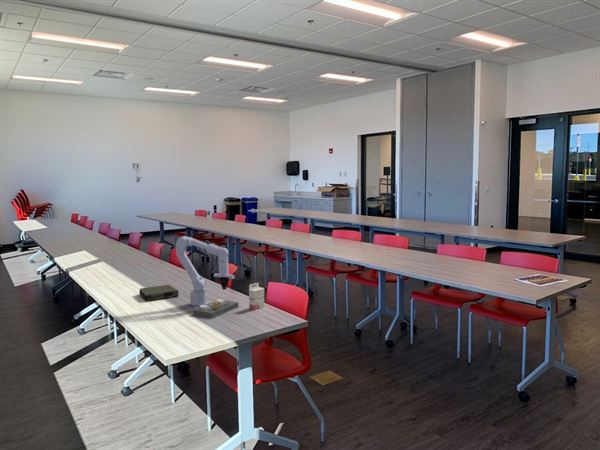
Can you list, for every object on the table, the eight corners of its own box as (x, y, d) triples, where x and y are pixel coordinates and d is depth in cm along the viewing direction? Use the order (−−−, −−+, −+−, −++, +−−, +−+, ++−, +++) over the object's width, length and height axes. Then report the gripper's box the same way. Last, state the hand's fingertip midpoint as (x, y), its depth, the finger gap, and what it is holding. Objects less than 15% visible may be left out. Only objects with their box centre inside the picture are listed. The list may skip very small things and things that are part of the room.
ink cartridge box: (254, 310, 266) (254, 285, 265) (249, 308, 270) (248, 284, 268) (265, 306, 273) (264, 283, 271) (259, 305, 276) (258, 282, 275)
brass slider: (212, 308, 259) (212, 302, 259) (215, 307, 262) (215, 301, 261) (216, 309, 258) (216, 303, 257) (219, 307, 260) (219, 301, 260)
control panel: (193, 314, 259) (193, 309, 259) (220, 304, 280) (220, 299, 280) (212, 318, 253) (212, 312, 252) (238, 307, 273) (238, 302, 273)
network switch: (147, 303, 287) (147, 295, 286) (135, 296, 305) (134, 289, 304) (182, 296, 301) (181, 289, 301) (168, 290, 319) (167, 283, 319)
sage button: (207, 308, 267) (207, 304, 267) (212, 306, 270) (212, 303, 270) (212, 309, 265) (212, 305, 265) (217, 307, 268) (217, 304, 268)
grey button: (199, 310, 261) (199, 306, 261) (204, 308, 264) (204, 304, 264) (204, 311, 259) (204, 307, 259) (209, 309, 262) (209, 305, 262)
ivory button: (215, 304, 273) (215, 300, 273) (219, 302, 276) (219, 299, 276) (220, 305, 271) (220, 301, 271) (224, 303, 274) (224, 299, 274)
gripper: (210, 267, 278) (211, 289, 280) (229, 269, 271) (230, 291, 273) (217, 265, 284) (218, 286, 286) (236, 267, 278) (236, 289, 279)
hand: (224, 289), depth 280 cm, fingers closed
